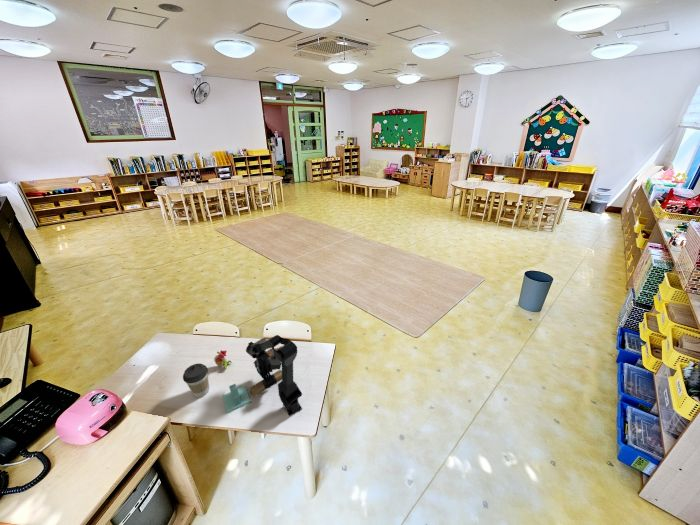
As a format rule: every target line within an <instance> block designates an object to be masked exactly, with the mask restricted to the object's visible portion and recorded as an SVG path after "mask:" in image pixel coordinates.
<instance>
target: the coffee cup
mask: <svg viewBox="0 0 700 525" xmlns="http://www.w3.org/2000/svg"><path fill="white" fill-rule="evenodd" d="M208 373H209V369H208V367H207V366H206V365H205V364H203V363H201V362H200V363H193V364H192V365H190V366H188V367H186V369H185V370H184V373H183V375H182V379H183V381H184V383H186V385H187V387H189V389H190V391H191V393H192V394H193V395H194V396H195V397H196V398H202V397H205V396H206V395H207V394H208V393H209V391H210V383H209V375H208Z"/></svg>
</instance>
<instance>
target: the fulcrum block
mask: <svg viewBox="0 0 700 525" xmlns="http://www.w3.org/2000/svg"><path fill="white" fill-rule="evenodd" d="M237 387H238V386H237V384H236V383H233V384H231V385H228V388H229V391H230V392H227V393H226V394H223V395H222V400H223V403H224V406H225V410H226V414H229V413H231V412H233V411H235V410H238V409H241V408H242V407H244V406H246V405H248V404H250V403H251V399H250V396H249V395H248V392H247V389H246V388H247V387H246V386H245V385H243V386H240V387H239V388H237Z"/></svg>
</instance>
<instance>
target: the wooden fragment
mask: <svg viewBox="0 0 700 525" xmlns="http://www.w3.org/2000/svg"><path fill="white" fill-rule="evenodd" d="M283 346H284V345H283V344H282V346H279V347H277V348H275V347H274V349H275V350H276V351H277V350H278V349H280V348H281V347H283ZM266 351H267V353H268V354H269V356H270V357H269V360H270V358H271V357H272V356H273V355H274V354H273V349H272V348H269V349H267V350H266ZM255 361H256V359H255V360H254V361H253V363H254V362H255Z"/></svg>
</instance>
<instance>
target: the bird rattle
mask: <svg viewBox="0 0 700 525" xmlns="http://www.w3.org/2000/svg"><path fill="white" fill-rule="evenodd" d="M227 352H228V350H222V349H221V350H220V352H219V351H217V352H216V353H217V355H215V357H214V358H213V359H214V363H215V365H216V366H217V367H224V369H225V370H226V369H227V370H228V364H229V363H232V360H227V358H226V357H227Z"/></svg>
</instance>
